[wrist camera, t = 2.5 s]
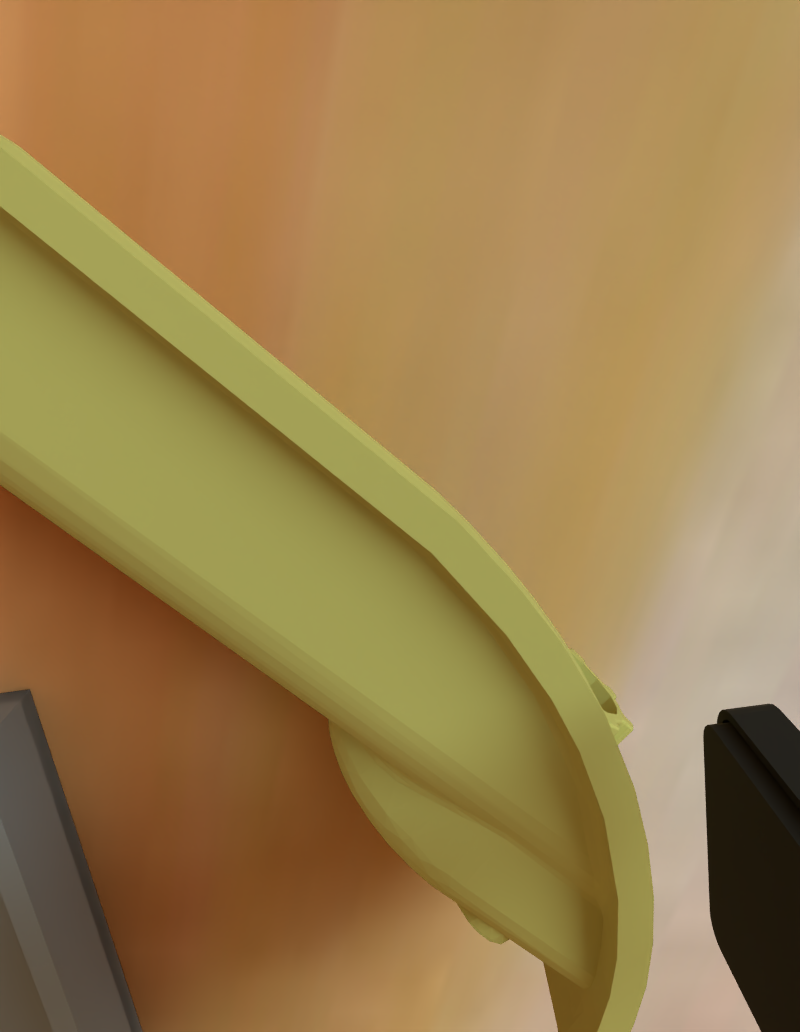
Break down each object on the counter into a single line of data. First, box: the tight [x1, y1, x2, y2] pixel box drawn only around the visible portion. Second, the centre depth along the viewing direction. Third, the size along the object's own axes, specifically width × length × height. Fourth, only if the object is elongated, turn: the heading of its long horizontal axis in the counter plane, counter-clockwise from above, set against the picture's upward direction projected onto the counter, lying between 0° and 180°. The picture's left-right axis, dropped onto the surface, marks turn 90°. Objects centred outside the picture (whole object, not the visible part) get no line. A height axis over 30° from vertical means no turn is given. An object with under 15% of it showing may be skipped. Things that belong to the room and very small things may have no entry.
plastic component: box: [0, 135, 654, 1032], centre depth 16 cm, size 20×7×10 cm, turn 50°
